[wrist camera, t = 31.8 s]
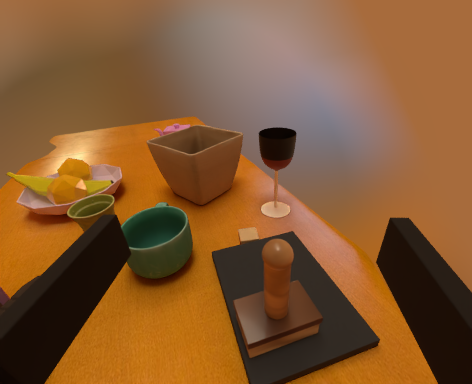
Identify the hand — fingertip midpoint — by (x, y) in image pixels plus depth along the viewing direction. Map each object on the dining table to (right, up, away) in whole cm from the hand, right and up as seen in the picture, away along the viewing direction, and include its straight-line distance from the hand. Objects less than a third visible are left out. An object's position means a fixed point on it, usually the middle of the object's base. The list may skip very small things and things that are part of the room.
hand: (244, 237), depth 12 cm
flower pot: (-10, +2, +61) cm, 62 cm away
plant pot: (-32, -8, +45) cm, 56 cm away
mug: (-15, -11, +38) cm, 43 cm away
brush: (+5, -17, +22) cm, 29 cm away
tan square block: (+2, -8, +41) cm, 42 cm away
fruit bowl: (-49, 0, +61) cm, 78 cm away
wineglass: (+10, -2, +50) cm, 51 cm away
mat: (+7, -15, +29) cm, 33 cm away
